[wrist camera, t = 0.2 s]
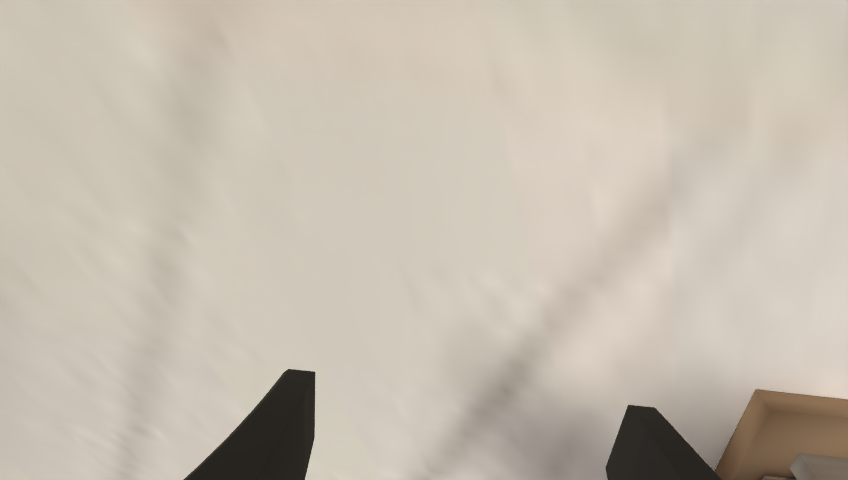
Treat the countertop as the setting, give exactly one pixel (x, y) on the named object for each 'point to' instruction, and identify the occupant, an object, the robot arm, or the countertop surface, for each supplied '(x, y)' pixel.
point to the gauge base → (788, 439)
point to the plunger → (776, 478)
